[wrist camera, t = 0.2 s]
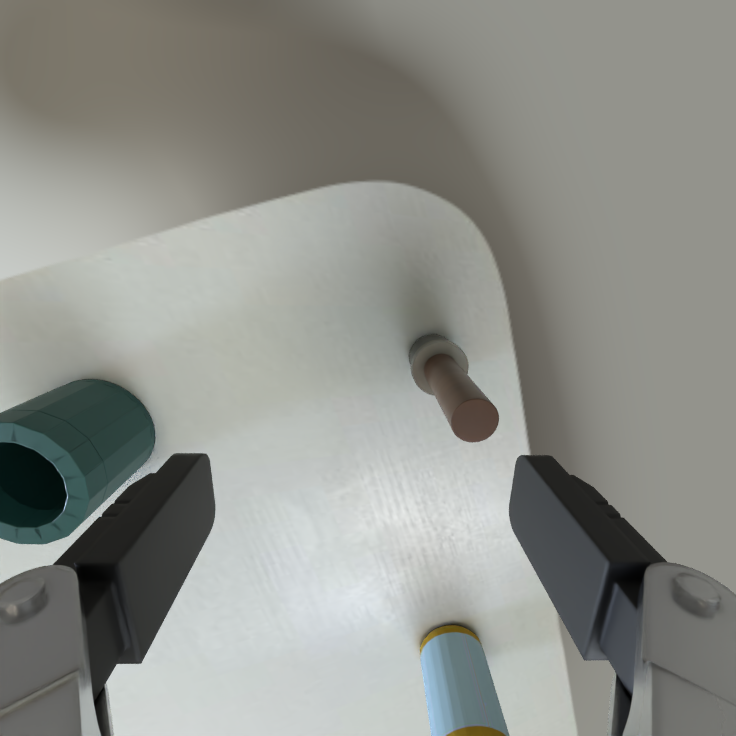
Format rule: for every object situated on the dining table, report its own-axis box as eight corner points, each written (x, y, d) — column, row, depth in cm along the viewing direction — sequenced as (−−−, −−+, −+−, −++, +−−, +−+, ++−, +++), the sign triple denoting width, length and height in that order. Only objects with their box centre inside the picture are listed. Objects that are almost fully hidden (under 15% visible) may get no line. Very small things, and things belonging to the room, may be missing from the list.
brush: (408, 330, 33) (438, 381, 20) (458, 332, 33) (521, 383, 20) (404, 379, 34) (431, 456, 21) (453, 380, 34) (509, 458, 21)
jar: (35, 377, 33) (-79, 420, 25) (147, 380, 34) (73, 424, 25) (57, 474, 36) (-38, 543, 28) (161, 476, 36) (98, 545, 28)
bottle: (428, 617, 42) (462, 805, 28) (488, 626, 42) (551, 817, 28) (412, 662, 44) (436, 860, 30) (469, 670, 44) (520, 869, 30)
